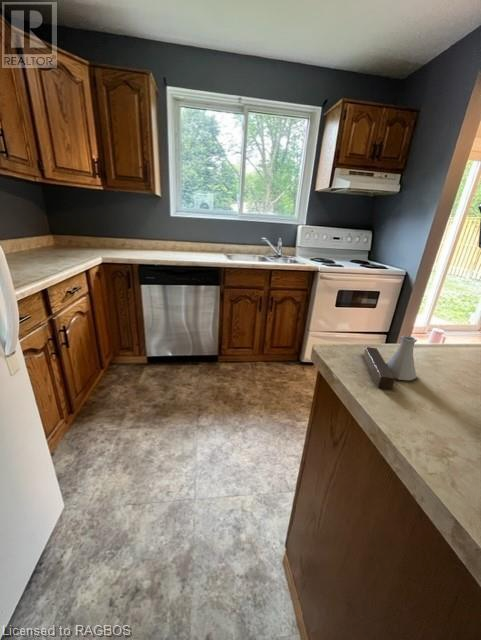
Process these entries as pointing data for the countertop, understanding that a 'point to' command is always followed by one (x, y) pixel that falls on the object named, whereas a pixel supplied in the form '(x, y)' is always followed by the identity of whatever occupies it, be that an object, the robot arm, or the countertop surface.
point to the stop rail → (378, 368)
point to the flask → (403, 360)
